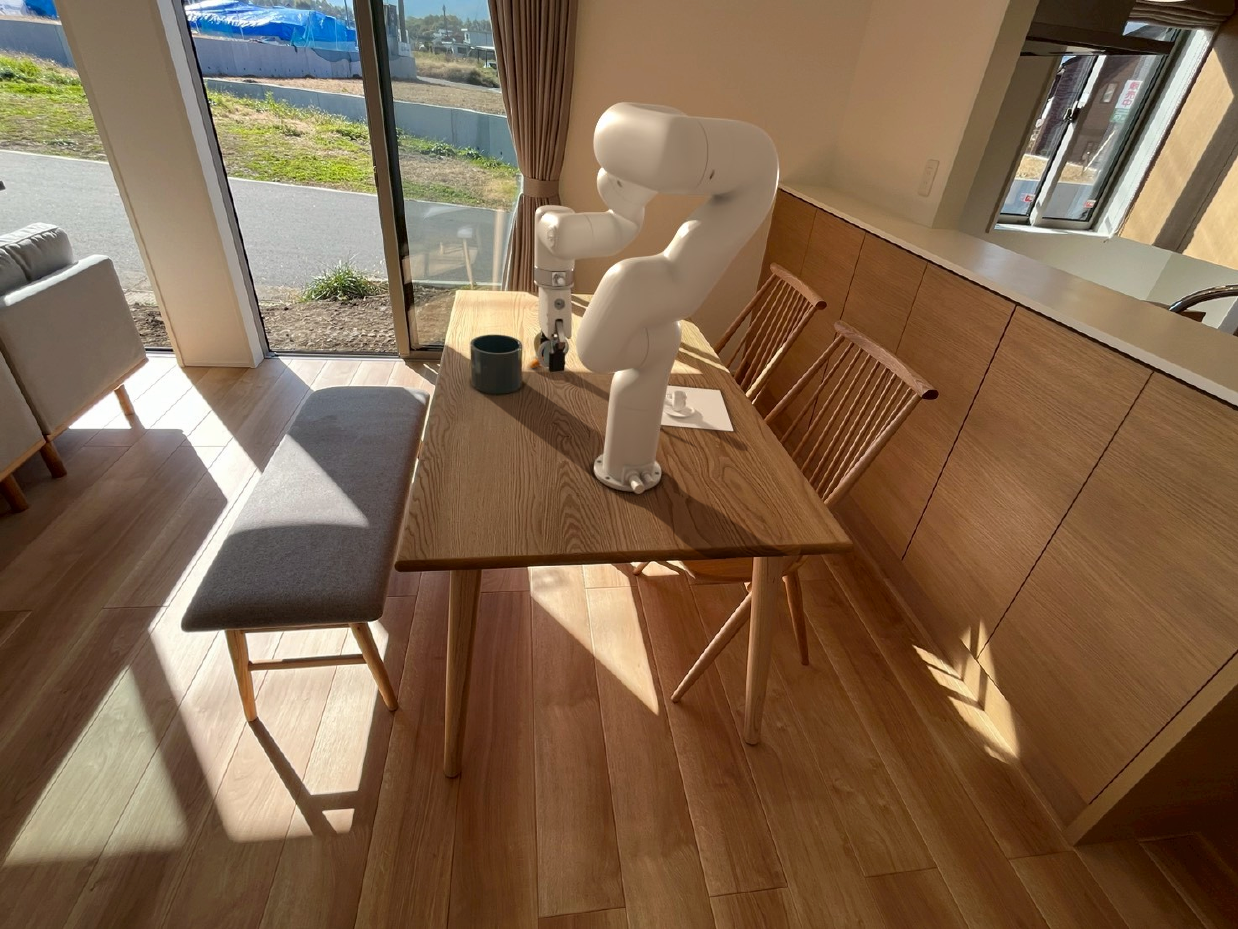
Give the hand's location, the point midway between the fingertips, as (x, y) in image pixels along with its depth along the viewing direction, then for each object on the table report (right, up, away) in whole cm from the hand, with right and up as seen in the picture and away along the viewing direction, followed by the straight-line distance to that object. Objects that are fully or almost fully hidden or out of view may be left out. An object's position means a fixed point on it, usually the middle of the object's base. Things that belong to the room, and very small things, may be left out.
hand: (551, 362), depth 123 cm
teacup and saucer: (+29, -8, +14) cm, 33 cm away
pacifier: (0, +1, 0) cm, 1 cm away
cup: (-14, -2, +14) cm, 20 cm away
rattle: (-6, +5, +26) cm, 27 cm away
